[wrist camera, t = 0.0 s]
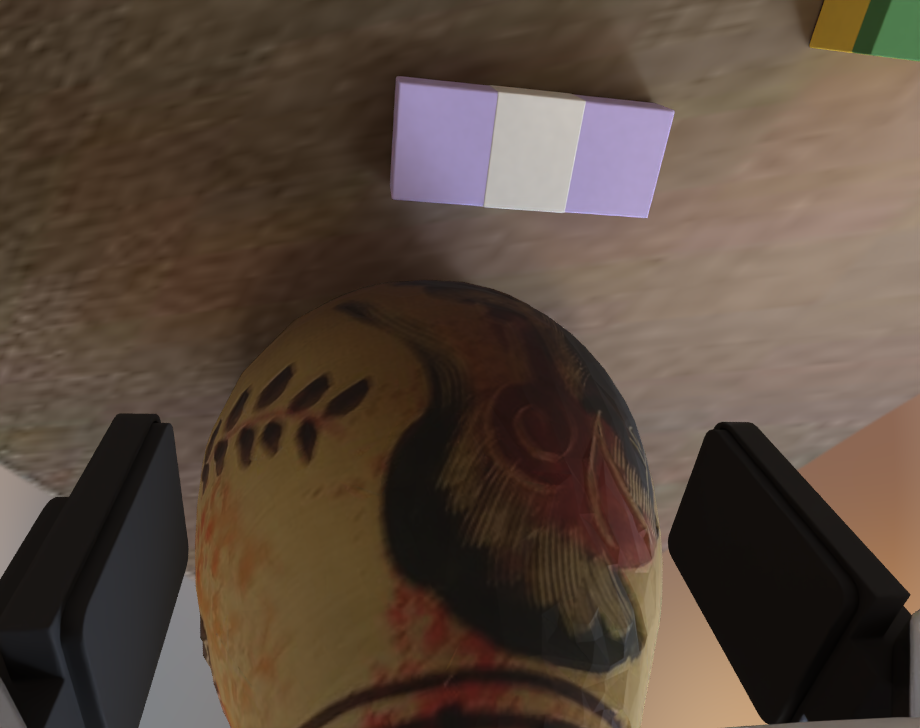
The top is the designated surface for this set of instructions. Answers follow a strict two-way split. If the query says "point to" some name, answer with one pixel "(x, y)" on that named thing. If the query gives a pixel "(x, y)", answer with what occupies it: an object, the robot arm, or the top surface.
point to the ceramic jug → (427, 523)
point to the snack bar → (525, 148)
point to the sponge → (870, 28)
